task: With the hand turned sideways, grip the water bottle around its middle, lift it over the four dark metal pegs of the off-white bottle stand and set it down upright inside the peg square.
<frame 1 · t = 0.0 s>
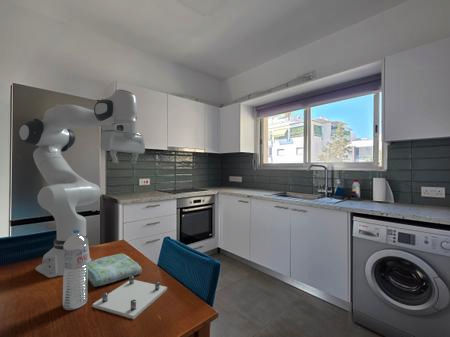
hand: (125, 163, 88), 48 cm above the table, tool pointing down, fingers open, 8 cm apart
towel: (111, 274, 93), on the table
water bottle: (75, 305, 71), on the table
bottle stand: (132, 297, 75), on the table
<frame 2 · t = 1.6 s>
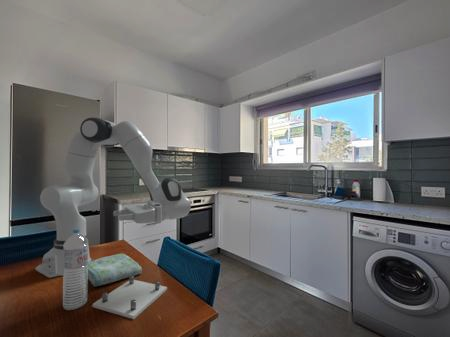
hand: (116, 215, 79), 28 cm above the table, tool horizontal, fingers open, 8 cm apart
nothing on the table moved.
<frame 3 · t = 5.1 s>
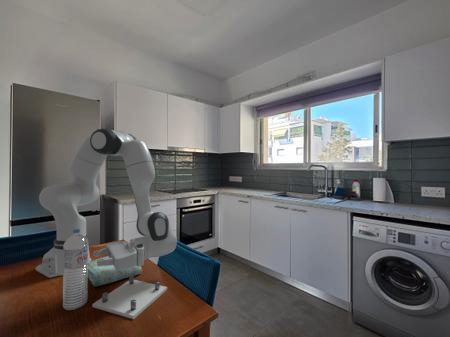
hand: (95, 258, 75), 14 cm above the table, tool horizontal, fingers open, 8 cm apart
nothing on the table moved.
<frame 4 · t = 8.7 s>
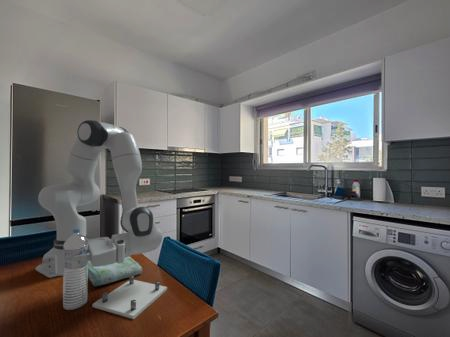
hand: (72, 254, 71), 17 cm above the table, tool horizontal, fingers closed on water bottle, 6 cm apart
water bottle: (75, 305, 71), on the table, touching gripper
everything else where it was.
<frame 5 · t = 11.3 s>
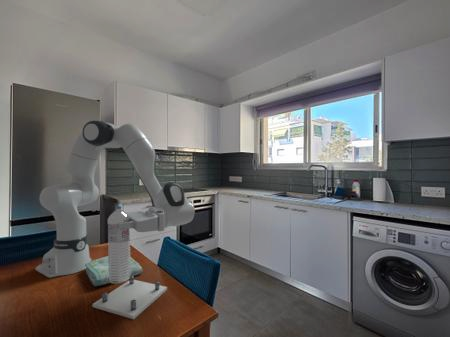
hand: (115, 223, 74), 27 cm above the table, tool horizontal, fingers closed on water bottle, 6 cm apart
water bottle: (120, 280, 73), point 7 cm above the table, touching gripper
everything else where it was.
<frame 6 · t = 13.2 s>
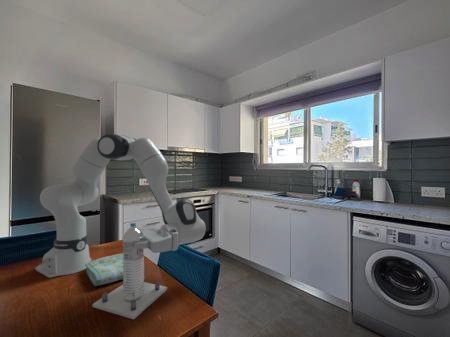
hand: (130, 243, 75), 19 cm above the table, tool horizontal, fingers closed on water bottle, 7 cm apart
water bottle: (134, 296, 74), point 1 cm above the table, touching bottle stand, gripper
everything else where it was.
when the fingers open (19 cm above the table, at t = 13.9 s): water bottle stays where it is, resting on bottle stand.
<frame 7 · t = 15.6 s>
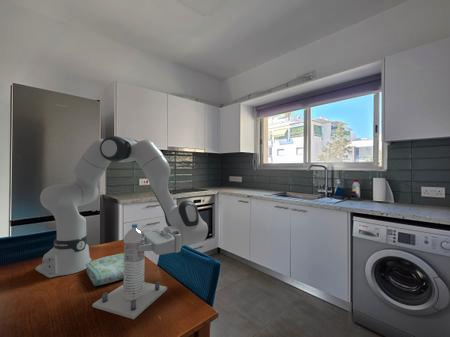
hand: (133, 244, 75), 19 cm above the table, tool horizontal, fingers open, 8 cm apart
water bottle: (133, 296, 74), point 1 cm above the table, touching bottle stand, gripper
everything else where it was.
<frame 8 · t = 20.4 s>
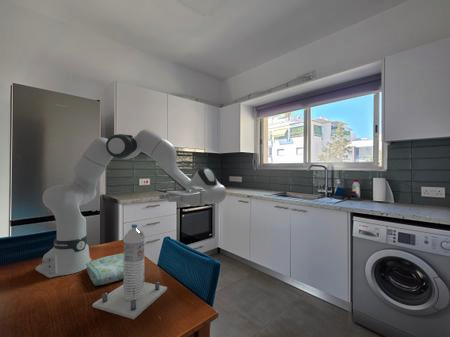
hand: (163, 198, 85), 34 cm above the table, tool horizontal, fingers open, 8 cm apart
water bottle: (133, 296, 74), point 1 cm above the table, touching bottle stand
everything else where it was.
at the end: water bottle inside the target area on the bottle stand (1.1 cm from its centre), point 0.8 cm above the bottle stand's base; water bottle tilted 0°; the gripper is holding nothing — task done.
